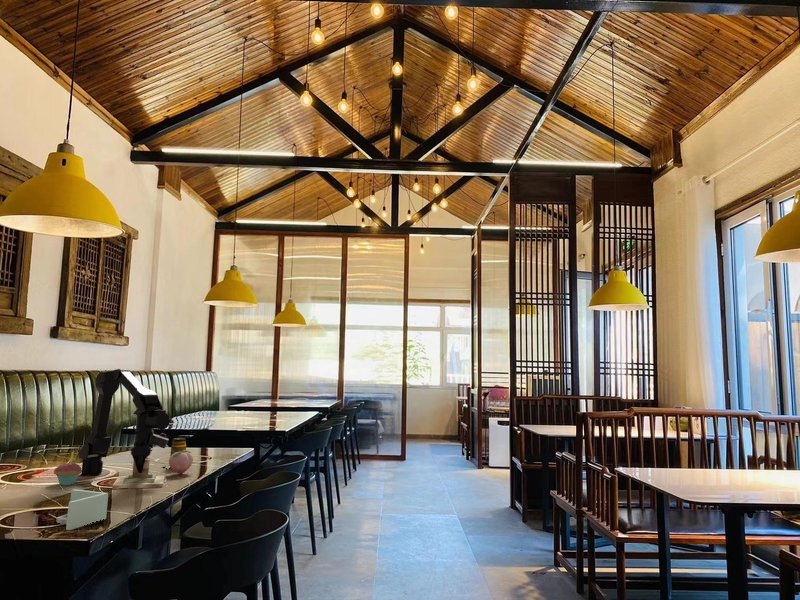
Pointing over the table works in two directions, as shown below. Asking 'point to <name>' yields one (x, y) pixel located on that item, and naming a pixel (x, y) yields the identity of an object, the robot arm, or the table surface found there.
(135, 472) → the block
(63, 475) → the cupcake
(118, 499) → the table surface
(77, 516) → the l-shaped corner panel
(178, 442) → the condiment
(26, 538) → the table surface
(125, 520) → the table surface
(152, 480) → the board
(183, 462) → the decorative fruit
